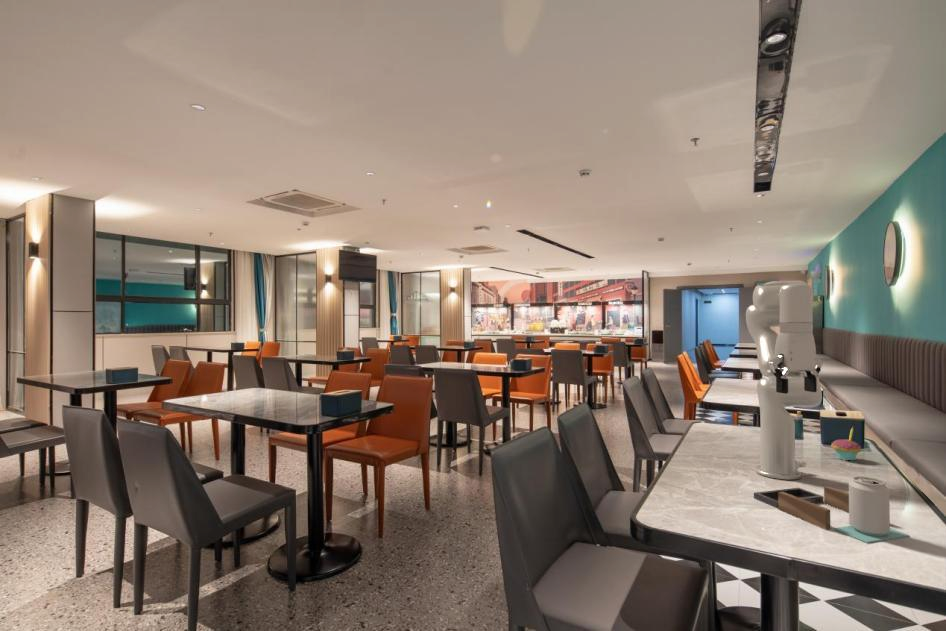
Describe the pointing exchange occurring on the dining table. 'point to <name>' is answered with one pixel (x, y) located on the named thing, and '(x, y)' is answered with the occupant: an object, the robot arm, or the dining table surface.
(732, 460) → the dining table surface
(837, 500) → the wooden corridor walls
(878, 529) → the can
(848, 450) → the cupcake
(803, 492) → the tray
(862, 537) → the pad
